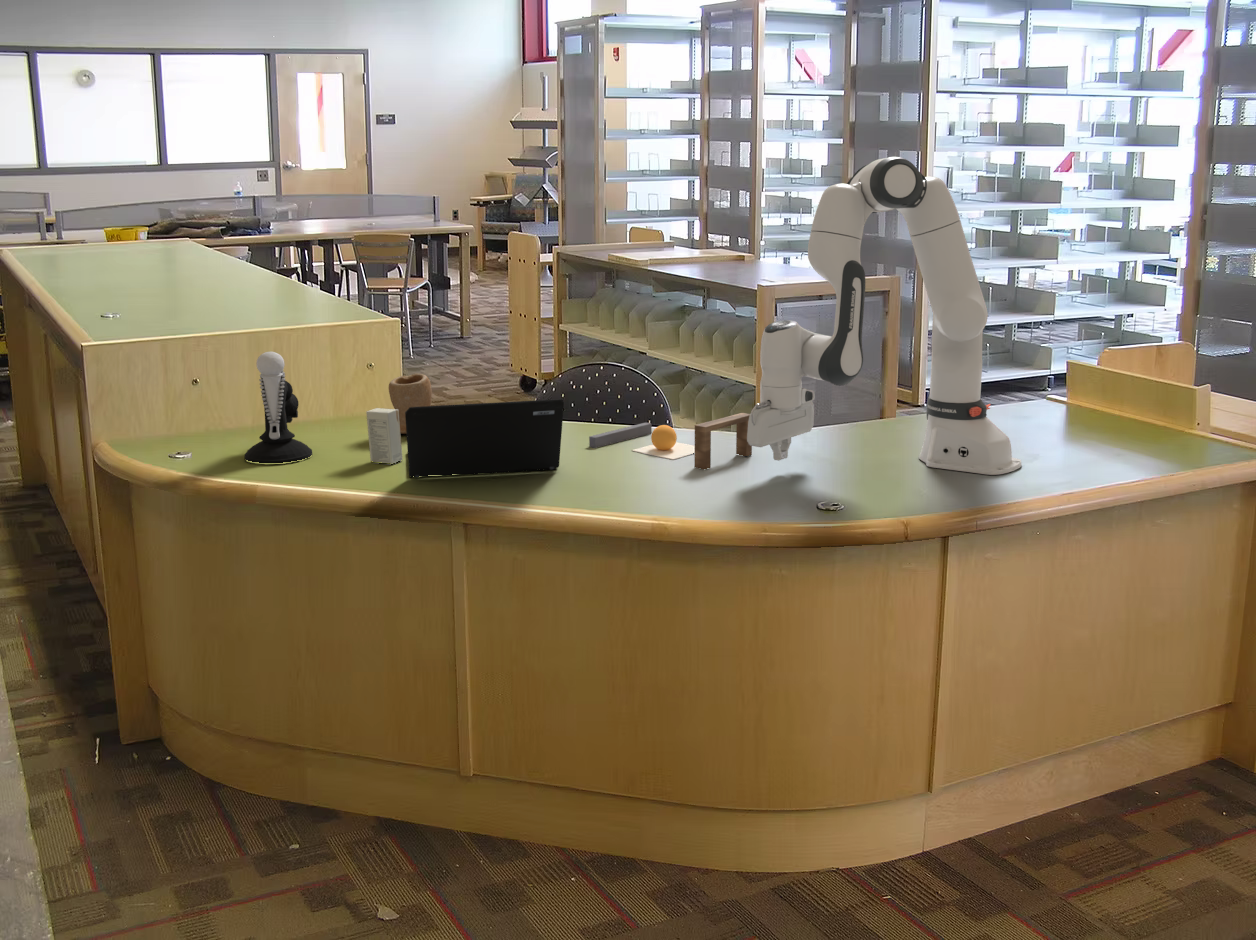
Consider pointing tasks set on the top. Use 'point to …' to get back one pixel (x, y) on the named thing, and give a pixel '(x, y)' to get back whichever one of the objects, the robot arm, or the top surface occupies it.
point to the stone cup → (409, 394)
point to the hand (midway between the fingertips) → (780, 459)
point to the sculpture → (277, 415)
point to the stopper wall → (620, 435)
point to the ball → (664, 437)
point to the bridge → (705, 428)
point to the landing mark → (668, 451)
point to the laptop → (484, 437)
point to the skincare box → (384, 435)
